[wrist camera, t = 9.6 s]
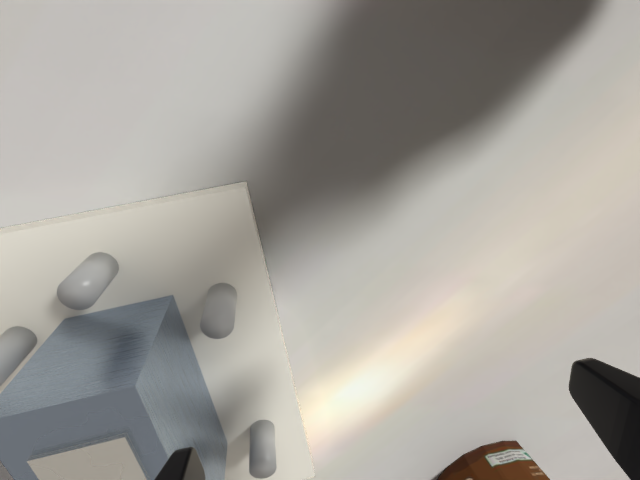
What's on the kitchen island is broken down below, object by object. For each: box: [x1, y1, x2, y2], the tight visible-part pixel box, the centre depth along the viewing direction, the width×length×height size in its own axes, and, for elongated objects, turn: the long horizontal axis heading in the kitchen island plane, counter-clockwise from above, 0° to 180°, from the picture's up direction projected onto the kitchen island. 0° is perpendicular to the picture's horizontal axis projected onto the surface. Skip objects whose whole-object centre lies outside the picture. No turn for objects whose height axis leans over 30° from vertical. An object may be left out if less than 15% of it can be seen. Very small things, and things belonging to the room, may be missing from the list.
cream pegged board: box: [0, 181, 315, 480], centre depth 19 cm, size 14×19×4 cm
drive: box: [0, 295, 228, 480], centre depth 17 cm, size 5×10×6 cm, turn 10°
